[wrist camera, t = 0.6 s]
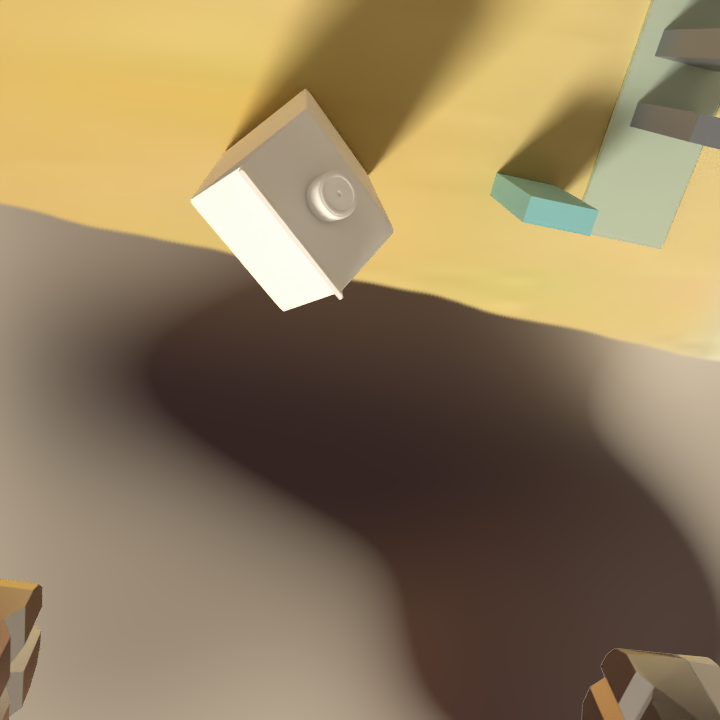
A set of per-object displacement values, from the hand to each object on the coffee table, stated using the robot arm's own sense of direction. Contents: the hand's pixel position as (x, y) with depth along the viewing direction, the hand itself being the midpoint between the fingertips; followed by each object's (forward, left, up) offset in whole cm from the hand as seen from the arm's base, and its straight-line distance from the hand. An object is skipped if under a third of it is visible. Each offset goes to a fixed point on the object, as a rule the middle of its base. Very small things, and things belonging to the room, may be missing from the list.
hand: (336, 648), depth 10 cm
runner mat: (-12, +23, -41) cm, 49 cm away
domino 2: (-12, +23, -41) cm, 48 cm away
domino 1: (-1, +15, -41) cm, 44 cm away
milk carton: (0, -1, -41) cm, 41 cm away
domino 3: (-8, +23, -41) cm, 48 cm away
